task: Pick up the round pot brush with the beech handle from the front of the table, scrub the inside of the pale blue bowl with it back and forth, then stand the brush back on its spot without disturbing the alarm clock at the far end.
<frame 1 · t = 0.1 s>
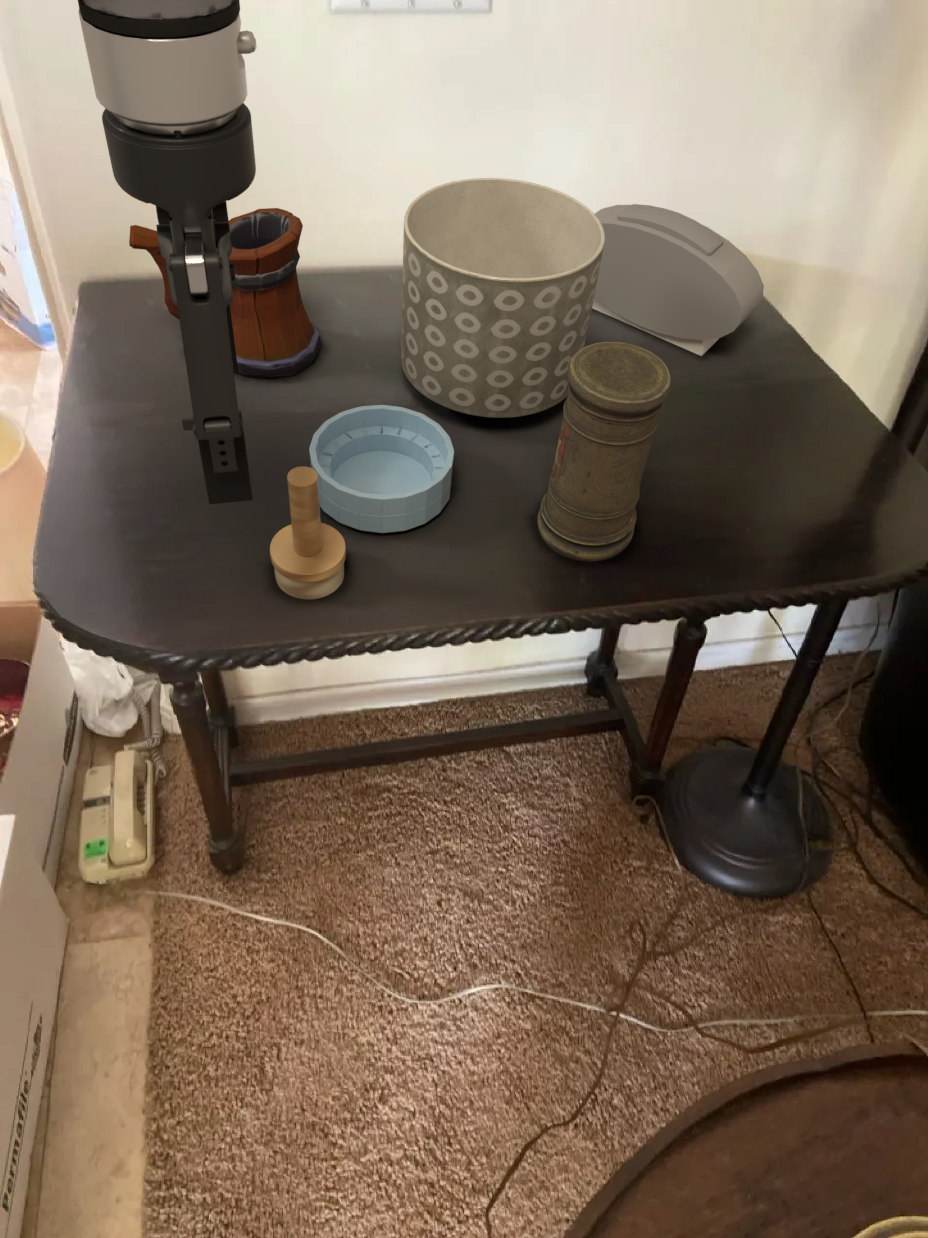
hand: (224, 431, 66), 20 cm above the table, tool pointing down, fingers open, 13 cm apart
brush: (309, 574, 85), on the table
bowl: (381, 489, 93), on the table
container: (583, 530, 92), on the table
mug: (238, 353, 106), on the table
alarm clock: (647, 322, 115), on the table
planter: (487, 386, 105), on the table
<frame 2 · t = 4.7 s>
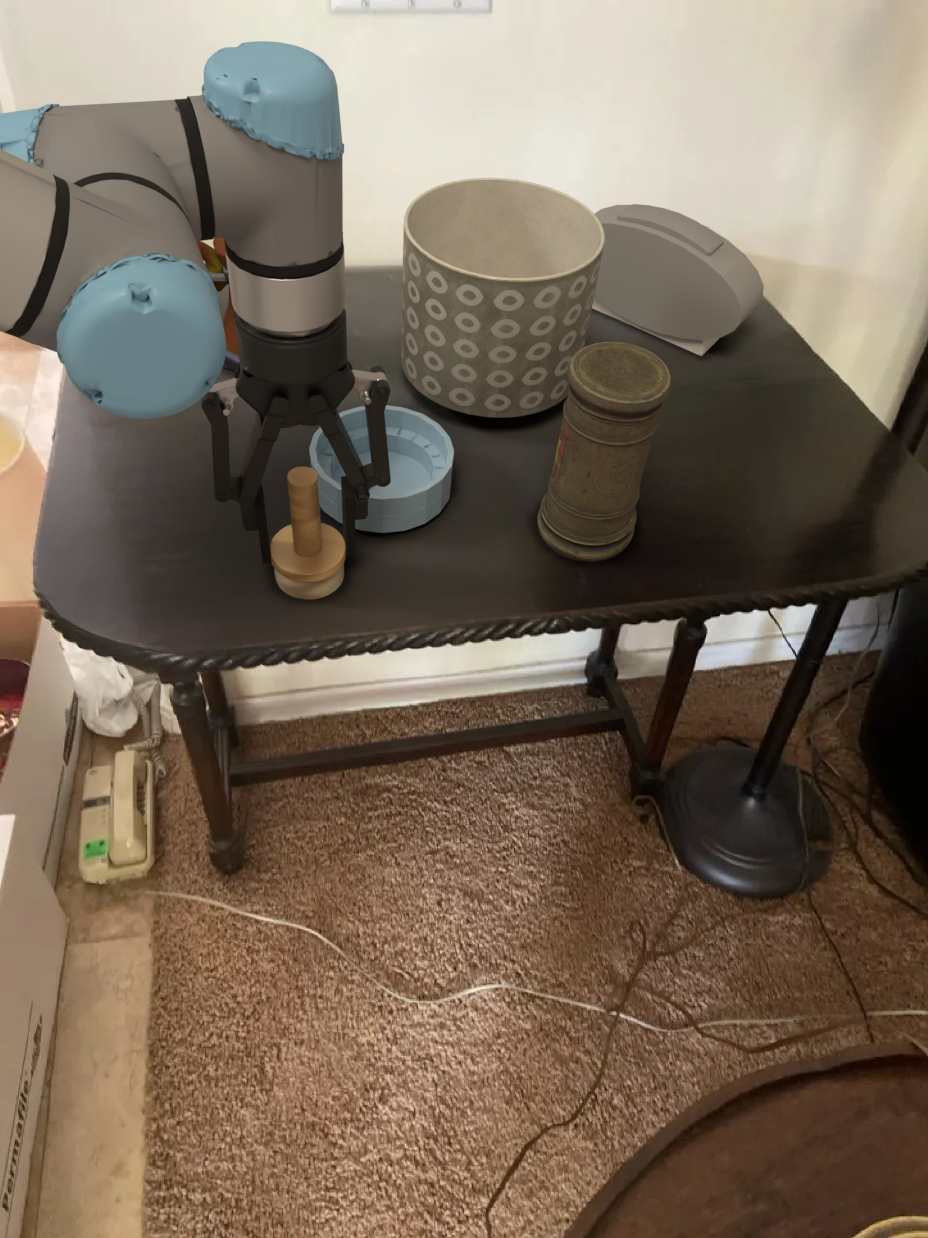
hand: (307, 547, 83), 3 cm above the table, tool pointing down, fingers closed on brush, 6 cm apart
brush: (309, 574, 85), on the table, touching gripper
everything else where it was.
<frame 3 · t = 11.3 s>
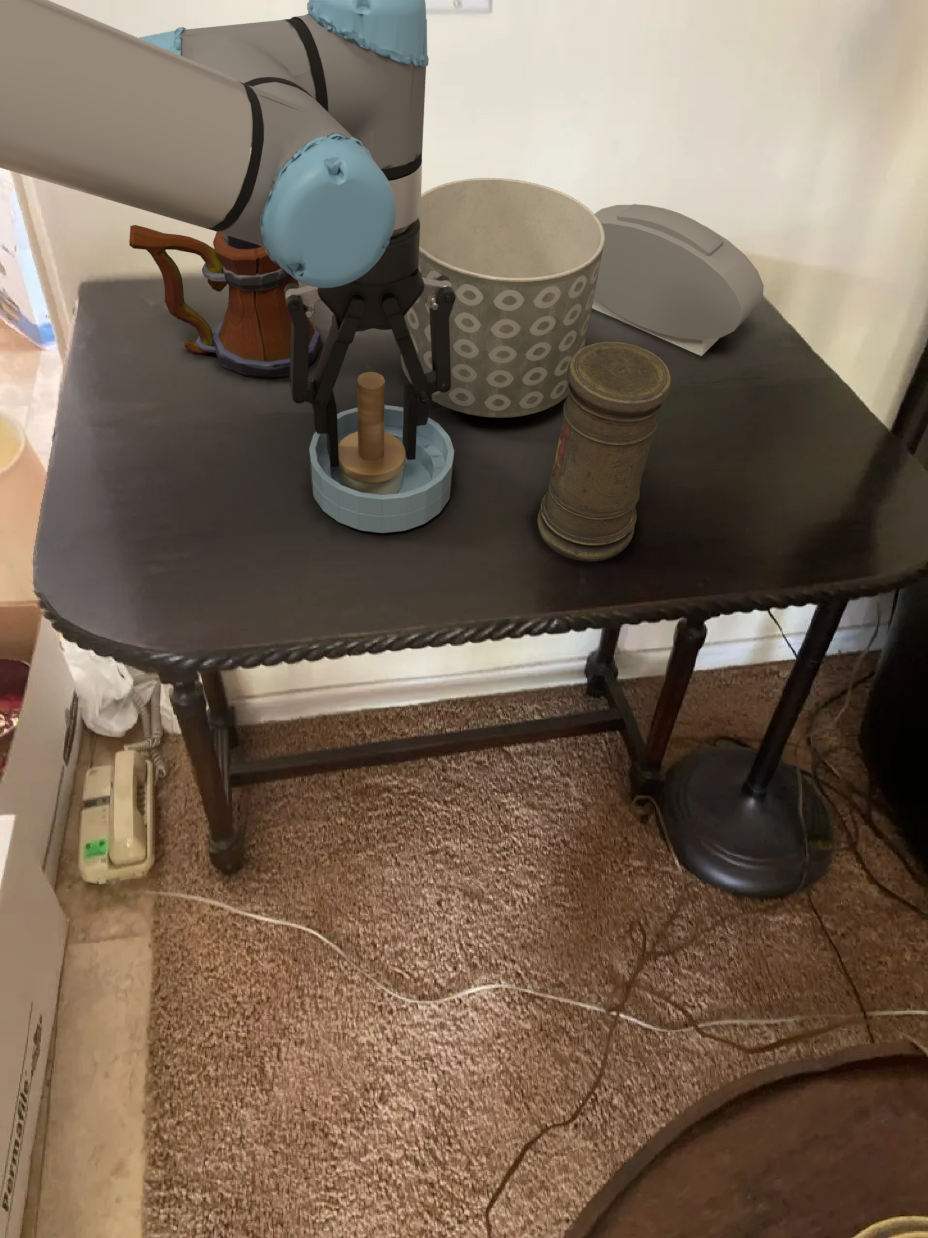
hand: (371, 453, 90), 4 cm above the table, tool pointing down, fingers closed on brush, 6 cm apart
brush: (371, 480, 92), point 1 cm above the table, touching gripper
everything else where it was.
when the fingers open (3 cm above the table, at t = 18.1 s): brush stays where it is, on the table.
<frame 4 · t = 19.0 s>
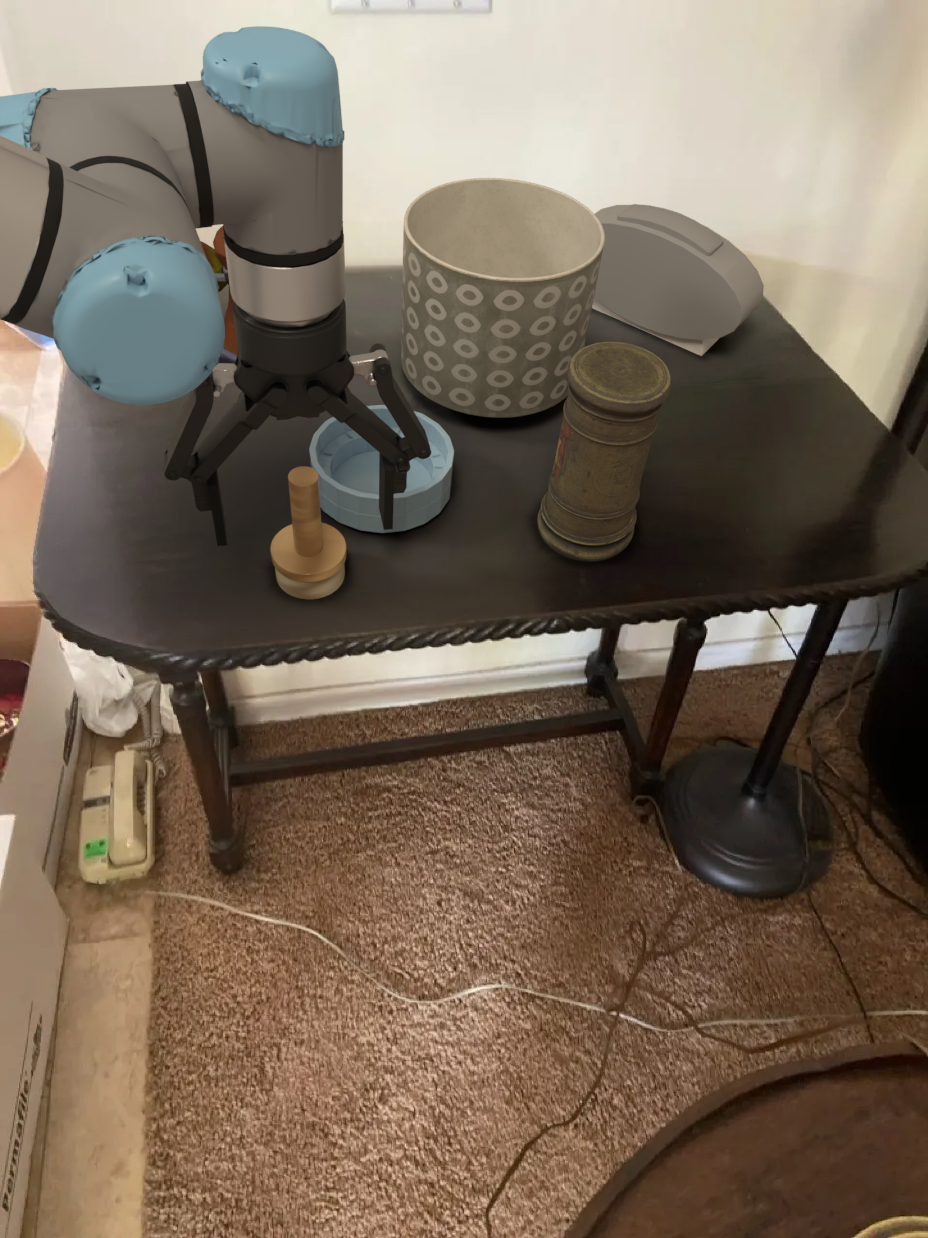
hand: (305, 526, 81), 6 cm above the table, tool pointing down, fingers open, 13 cm apart
brush: (310, 574, 85), on the table
everything else where it was.
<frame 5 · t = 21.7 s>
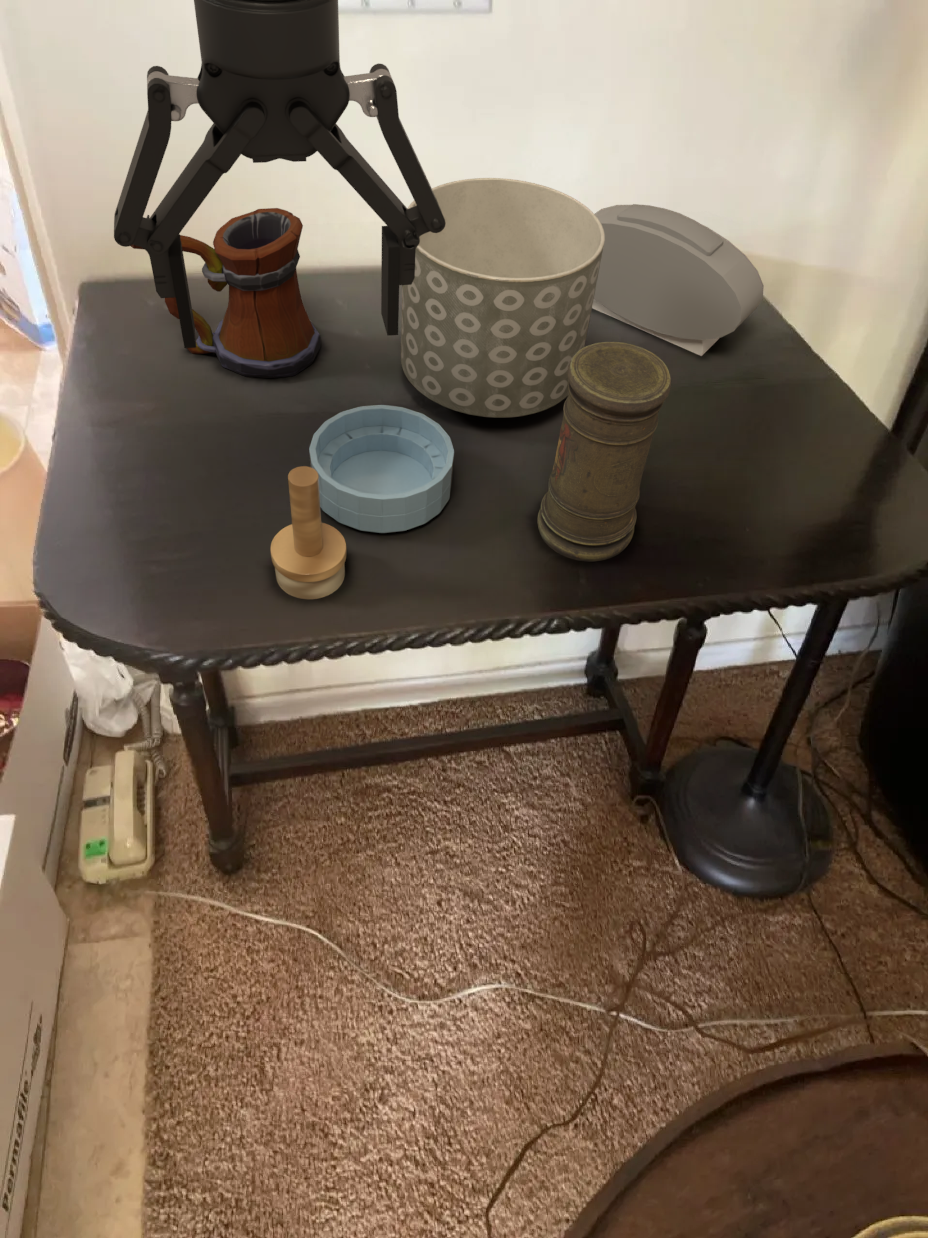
hand: (291, 330, 66), 25 cm above the table, tool pointing down, fingers open, 13 cm apart
nothing on the table moved.
at the end: brush inside the target area (0.1 cm from its centre), on the table; brush tilted 0°; alarm clock moved 0.2 cm from its start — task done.
